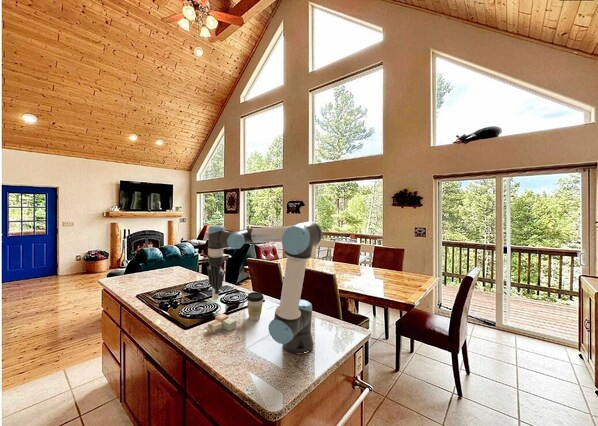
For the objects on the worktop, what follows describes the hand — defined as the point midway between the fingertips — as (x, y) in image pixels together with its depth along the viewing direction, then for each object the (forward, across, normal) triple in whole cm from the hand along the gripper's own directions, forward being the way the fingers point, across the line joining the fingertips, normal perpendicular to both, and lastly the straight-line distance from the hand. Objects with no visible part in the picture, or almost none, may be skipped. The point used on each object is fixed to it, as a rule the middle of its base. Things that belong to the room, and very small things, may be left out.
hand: (215, 299), depth 150 cm
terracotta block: (+17, +4, -7) cm, 19 cm away
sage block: (+17, -4, -7) cm, 19 cm away
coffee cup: (+19, -6, -24) cm, 30 cm away
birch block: (+17, 0, 0) cm, 17 cm away
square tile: (+18, 0, -4) cm, 19 cm away
